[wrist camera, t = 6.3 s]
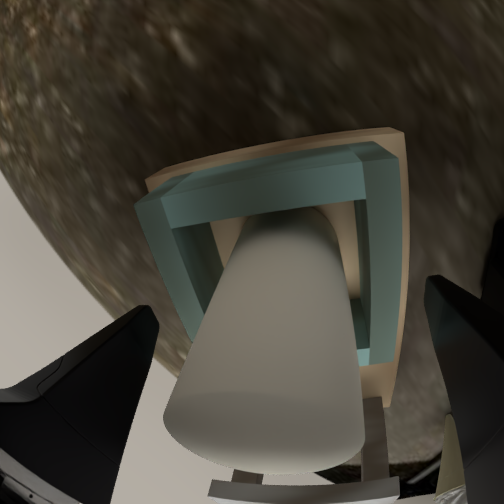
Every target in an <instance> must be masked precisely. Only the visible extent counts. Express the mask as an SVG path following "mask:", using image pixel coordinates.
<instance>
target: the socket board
mask: <svg viewBox="0 0 504 504" xmlns="http://www.w3.org/2000/svg"><path fill="white" fill-rule="evenodd" d="M145 182H146V185H147V188H148V191H149V193H148V194H147V195H146V196H144V197H143V198H142V199H140V200H139V201H138V202H136V203H135V204H134V208H135V211H136V214H137V216H138V219H139V222H140V224H141V227H142V230H143V232H144V235H145V237H146V240H147V242H148V245H149V247H150V250H151V252H152V255H153V257H154V260H155V262H156V265H157V267H158V269H159V272H160V274H161V276H162V279H163V281H164V283H165V286H166V288H167V290H168V293H169V295H170V297H171V299H172V302H173V304H174V306H175V308H176V310H177V312H178V315H179V317H180V319H181V321H182V323H183V325H184V327H185V329H186V332H187V334H188V336H189V338H190V340H191V342H192V343H193V341H194V339H195V336H196V334H197V332H198V329H199V327H200V325H201V322H202V320H203V318H204V315H205V313H206V310H207V308H208V306H209V303H210V301H211V299H212V297H213V294H214V292H215V290H216V287H217V285H218V283H219V280H220V278H221V276H222V273H223V271H224V269H225V267H226V264H227V262H228V260H229V257H230V255H231V253H232V251H233V248H234V246H235V244H236V241H237V239H238V237H239V235H240V232H241V230H242V228H243V226H244V224H245V223H246V221H247V220H248V219H249V218H250V217H251V216H252V215H254V214H261V213H267V212H274V211H280V210H287V209H294V208H301V207H308V206H309V207H312V208H314V209H315V210H317V211H319V212H320V213H321V214H322V215H324V216H325V217H326V218H327V219H328V220H329V222H330V223H331V225H332V226H333V228H334V230H335V232H336V235H337V238H338V242H339V247H340V252H341V257H342V262H343V267H344V272H345V278H346V283H347V289H348V294H349V300H350V306H351V313H352V319H353V326H354V333H355V340H356V347H357V355H358V363H359V372H360V381H361V391H362V402H363V414H364V428H365V442H364V445H363V447H362V448H361V471H362V482H356V483H346V484H332V485H305V486H287V485H262V480H263V474H260V473H252V472H246V471H241V470H237V469H234V472H233V476H232V480H231V482H228V481H219V480H212V482H211V486H210V489H209V493H208V497H209V498H211V499H212V500H214V501H215V502H217V503H218V504H393V502H394V501H395V500H396V499H397V498H398V497H399V496H400V489H399V476H398V477H392V478H389V464H388V450H387V439H386V428H385V419H384V411H383V408H384V407H390V403H391V398H392V394H393V389H394V384H395V379H396V374H397V368H398V362H399V356H400V350H401V343H402V336H403V328H404V320H405V311H406V300H407V288H408V272H409V245H410V211H409V185H408V169H407V157H406V146H405V137H404V133H403V132H401V131H398V130H396V129H393V128H390V127H382V128H371V129H361V130H352V131H344V132H336V133H328V134H321V135H314V136H308V137H301V138H295V139H289V140H283V141H278V142H272V143H267V144H262V145H257V146H252V147H247V148H242V149H237V150H233V151H228V152H224V153H220V154H215V155H211V156H207V157H203V158H199V159H195V160H191V161H187V162H183V163H180V164H176V165H172V166H169V167H165V168H163V169H162V170H160V171H158V172H156V173H155V174H153V175H152V176H150V177H148V178H147V179H145Z"/></svg>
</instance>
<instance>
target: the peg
mask: <svg viewBox="0 0 504 504" xmlns="http://www.w3.org/2000/svg"><path fill="white" fill-rule="evenodd" d="M163 420H164V424H165V427H166V429H167V430H168V432H169V433H170V434H171V436H172V437H173V438H174V439H175V440H176V441H177V442H179V443H180V444H181V445H182V446H184V447H185V448H187V449H188V450H190V451H191V452H193V453H195V454H197V455H198V456H201V457H202V458H205V459H207V460H209V461H212V462H214V463H217V464H220V465H223V466H226V467H229V468H233V469H237V470H241V471H246V472H252V473H260V474H272V475H292V474H303V473H311V472H317V471H321V470H325V469H328V468H331V467H334V466H337V465H339V464H342V463H344V462H346V461H347V460H349V459H351V458H352V457H353V456H355V455H356V454H357V453H358V452H359V451H360V450H361V448H362V447H363V445H364V442H365V428H364V414H363V402H362V391H361V381H360V372H359V363H358V355H357V347H356V340H355V333H354V326H353V319H352V313H351V306H350V300H349V294H348V289H347V283H346V278H345V272H344V267H343V262H342V257H341V252H340V247H339V242H338V238H337V235H336V232H335V230H334V228H333V226H332V225H331V223H330V222H329V220H328V219H327V218H326V217H325V216H324V215H322V214H321V213H320V212H319V211H317V210H315V209H314V208H312V207H309V206H308V207H301V208H294V209H287V210H280V211H274V212H267V213H261V214H254V215H252V216H251V217H250V218H249V219H248V220H247V221H246V223H245V224H244V226H243V228H242V230H241V232H240V235H239V237H238V239H237V241H236V244H235V246H234V248H233V251H232V253H231V255H230V257H229V260H228V262H227V264H226V267H225V269H224V271H223V273H222V276H221V278H220V280H219V283H218V285H217V287H216V290H215V292H214V294H213V297H212V299H211V301H210V303H209V306H208V308H207V310H206V313H205V315H204V318H203V320H202V322H201V325H200V327H199V329H198V332H197V334H196V336H195V339H194V341H193V343H192V346H191V348H190V351H189V353H188V355H187V358H186V360H185V363H184V365H183V367H182V370H181V372H180V375H179V377H178V379H177V382H176V384H175V387H174V389H173V392H172V394H171V396H170V399H169V401H168V404H167V406H166V409H165V412H164V415H163Z"/></svg>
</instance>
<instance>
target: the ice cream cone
mask: <svg viewBox="0 0 504 504" xmlns="http://www.w3.org/2000/svg"><path fill="white" fill-rule="evenodd" d="M464 470H465V469H463V463H462V457H461V451H460V446H459V441H458V436H457V431H456V426H455V422H454V419H453V417H452V416H451V414H448V415H446V420H445V432H444V443H443V451H442V459H441V466H440V473H439V479H438V485H437V490H436V496H435V498H434V499H433V500H434V501H435V502H436V504H467V496H466V486H465V478H464Z"/></svg>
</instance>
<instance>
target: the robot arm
mask: <svg viewBox="0 0 504 504" xmlns="http://www.w3.org/2000/svg"><path fill="white" fill-rule="evenodd" d="M503 228H504V219H500V220H499V221H498V222H497V224H496V226H495V231H494V238H493V245H492V252H491V258H490V263H489V267H488V272H487V277H486V282H485V286H484V291H483V295H482V300H480V299H479V298H477V297H476V296H474V295H472V294H471V293H469V292H468V291H466V290H464V289H463V288H461V287H459V286H458V285H456V284H454V283H453V282H451V281H449V280H448V279H446V278H444V277H443V276H441V275H432V276H428V277H427V279H426V284H425V293H424V307H425V311H426V315H427V319H428V323H429V327H430V332H431V336H432V341H433V345H434V349H435V353H436V356H437V359H438V362H439V365H440V369H441V372H442V375H443V379H444V382H445V386H446V389H447V393H448V397H449V401H450V405H451V409H452V413H453V417H454V422H455V426H456V431H457V436H458V441H459V446H460V451H461V457H462V463H463V469H465V470H464V478H465V486H466V496H467V504H504V230H503V231H502V229H503ZM158 333H159V322H158V320H157V318H156V316H155V314H154V312H153V310H152V308H151V307H150V306H149V305H139V306H137V307H135V308H134V309H132V310H131V311H129V312H127V313H126V314H124V315H123V316H121V317H120V318H118V319H117V320H115V321H114V322H112V323H111V324H109V325H108V326H106V327H105V328H103V329H102V330H100V331H99V332H97V333H96V334H94V335H93V336H91V337H90V338H88V339H87V340H85V341H84V342H82V343H81V344H79V345H78V346H76V347H75V348H73V349H72V350H70V351H69V352H67V353H66V354H65V355H63V356H61V357H60V358H58V359H57V360H55V361H54V362H52V363H50V364H49V365H47V366H46V367H44V368H43V369H41V370H40V371H38V372H36V373H35V374H33V375H31V376H29V377H28V378H26V379H24V380H23V381H21V382H19V383H18V384H16V385H14V386H12V387H9V388H5V389H0V504H79V503H82V504H110V502H111V498H112V494H113V490H114V486H115V482H116V479H117V475H118V471H119V468H120V463H121V460H122V456H123V453H124V449H125V446H126V442H127V439H128V435H129V432H130V429H131V425H132V422H133V419H134V415H135V412H136V409H137V406H138V403H139V400H140V397H141V393H142V390H143V387H144V384H145V381H146V378H147V375H148V372H149V369H150V366H151V362H152V358H153V354H154V350H155V345H156V341H157V337H158Z"/></svg>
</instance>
